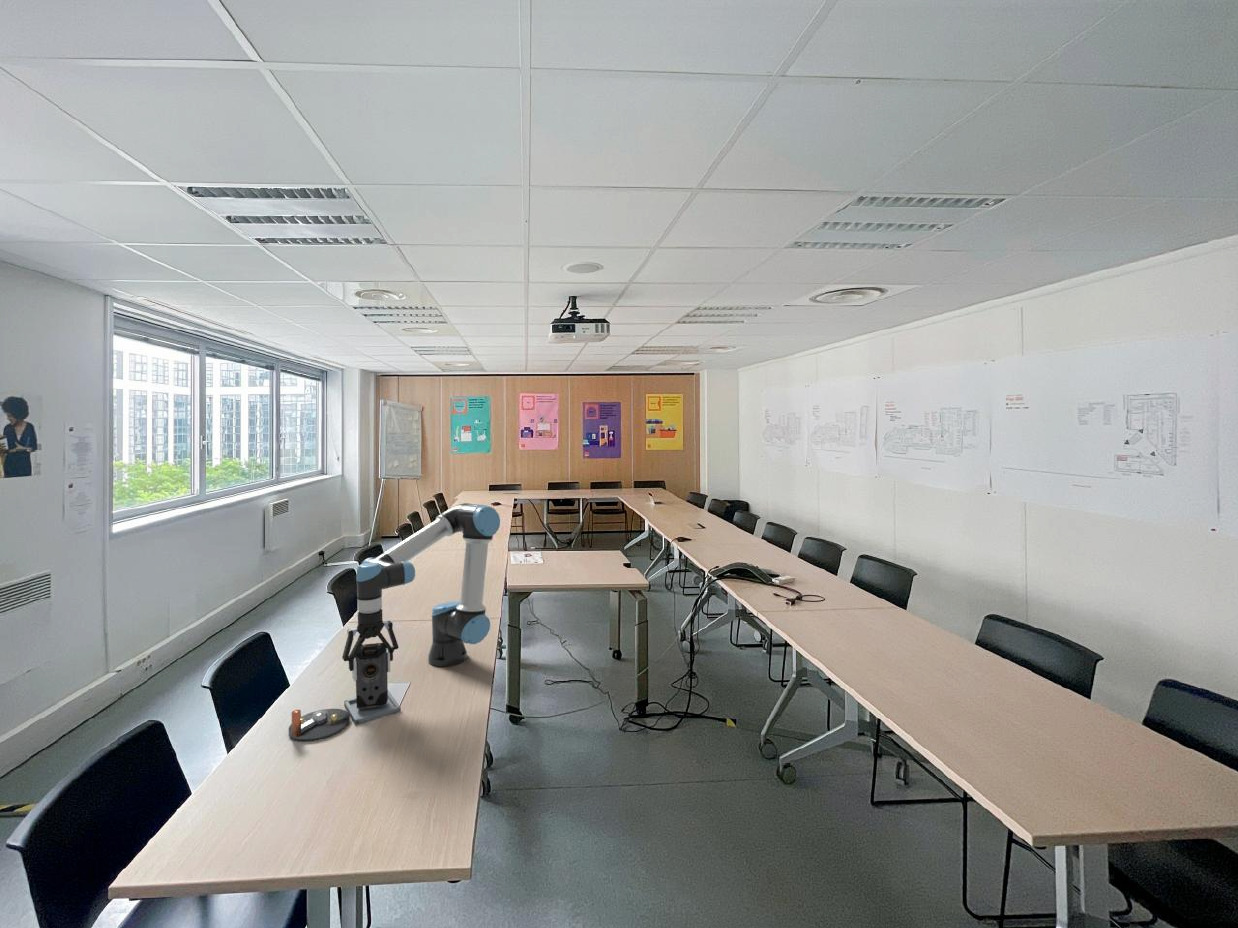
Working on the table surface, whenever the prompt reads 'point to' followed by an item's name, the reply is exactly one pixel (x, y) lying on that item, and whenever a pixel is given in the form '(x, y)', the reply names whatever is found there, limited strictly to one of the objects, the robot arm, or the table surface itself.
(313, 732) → the crank base
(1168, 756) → the table surface
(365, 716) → the tray
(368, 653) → the electronic device
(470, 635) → the robot arm
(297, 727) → the crank
